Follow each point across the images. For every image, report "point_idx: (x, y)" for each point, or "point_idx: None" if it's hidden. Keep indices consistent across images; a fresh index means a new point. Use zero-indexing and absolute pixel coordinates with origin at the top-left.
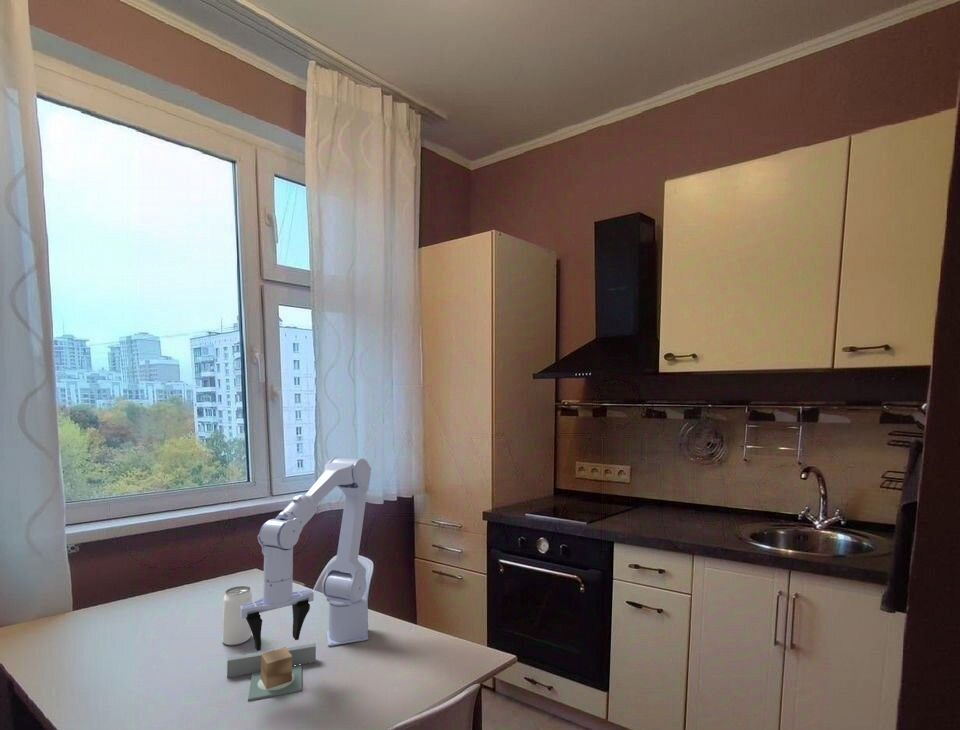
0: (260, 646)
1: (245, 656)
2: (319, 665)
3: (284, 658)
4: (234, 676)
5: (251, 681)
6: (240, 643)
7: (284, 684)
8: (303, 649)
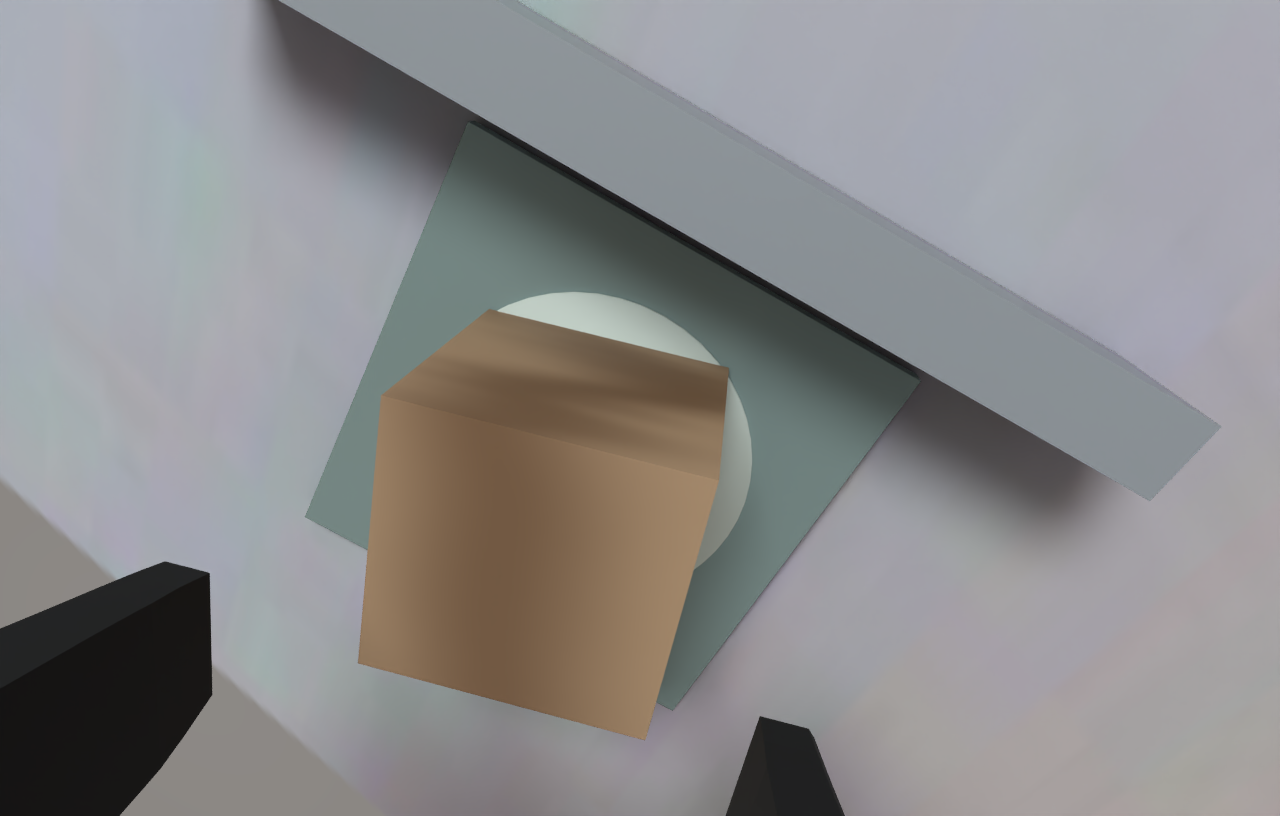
0: (153, 762)
1: None
2: (1044, 495)
3: (555, 715)
4: None
5: (408, 281)
6: None
7: None
8: (1005, 414)
